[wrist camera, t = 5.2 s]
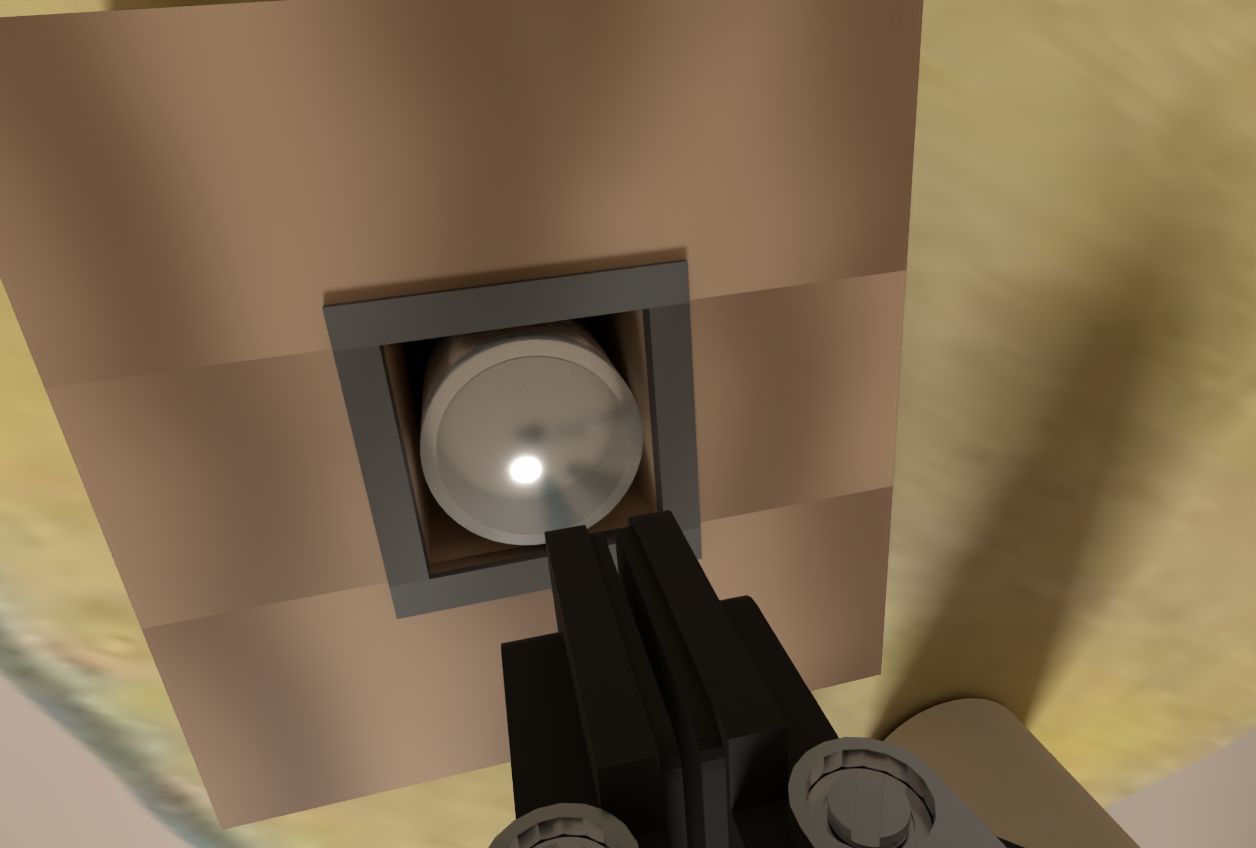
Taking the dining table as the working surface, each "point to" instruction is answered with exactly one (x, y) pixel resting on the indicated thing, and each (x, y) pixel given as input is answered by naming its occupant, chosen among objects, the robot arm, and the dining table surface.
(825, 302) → the block
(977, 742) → the travel mug
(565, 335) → the steel dowel
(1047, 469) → the dining table surface
